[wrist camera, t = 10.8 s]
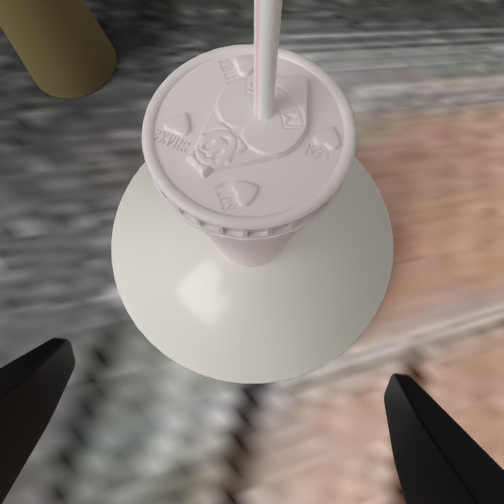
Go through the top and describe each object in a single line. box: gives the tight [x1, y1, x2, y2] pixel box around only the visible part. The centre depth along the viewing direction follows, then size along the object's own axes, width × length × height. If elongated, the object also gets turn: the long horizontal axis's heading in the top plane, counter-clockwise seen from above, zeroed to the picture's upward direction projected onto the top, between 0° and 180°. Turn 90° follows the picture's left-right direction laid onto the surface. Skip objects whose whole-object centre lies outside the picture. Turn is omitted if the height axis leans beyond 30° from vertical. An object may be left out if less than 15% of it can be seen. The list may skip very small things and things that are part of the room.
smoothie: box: [142, 0, 357, 267], centre depth 12 cm, size 6×6×14 cm
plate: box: [111, 156, 394, 383], centre depth 20 cm, size 16×16×1 cm
